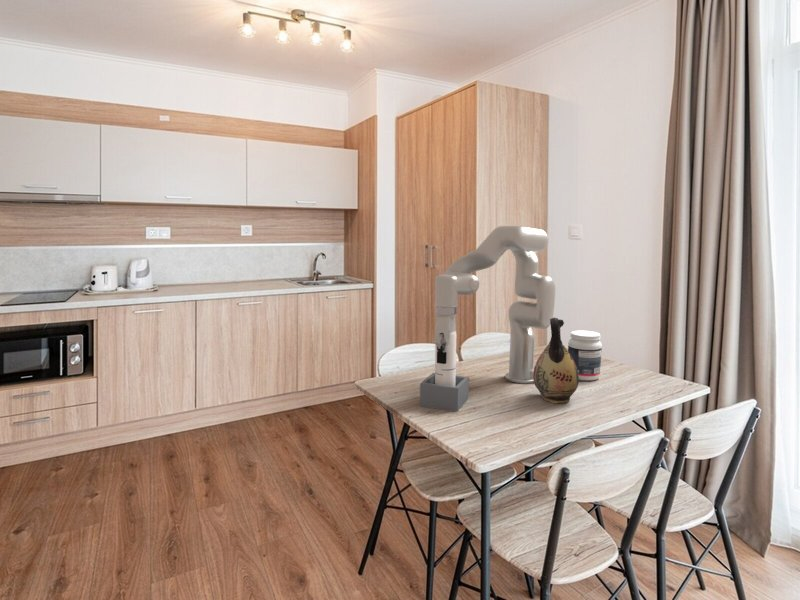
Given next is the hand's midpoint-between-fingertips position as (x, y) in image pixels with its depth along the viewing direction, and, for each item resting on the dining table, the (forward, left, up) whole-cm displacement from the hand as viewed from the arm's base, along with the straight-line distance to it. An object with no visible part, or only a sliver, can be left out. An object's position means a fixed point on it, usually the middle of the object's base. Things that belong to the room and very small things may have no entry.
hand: (446, 359), depth 169 cm
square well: (0, 0, -15) cm, 15 cm away
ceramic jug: (-35, -18, -16) cm, 42 cm away
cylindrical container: (0, 0, -16) cm, 15 cm away
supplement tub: (-43, -51, -16) cm, 68 cm away
